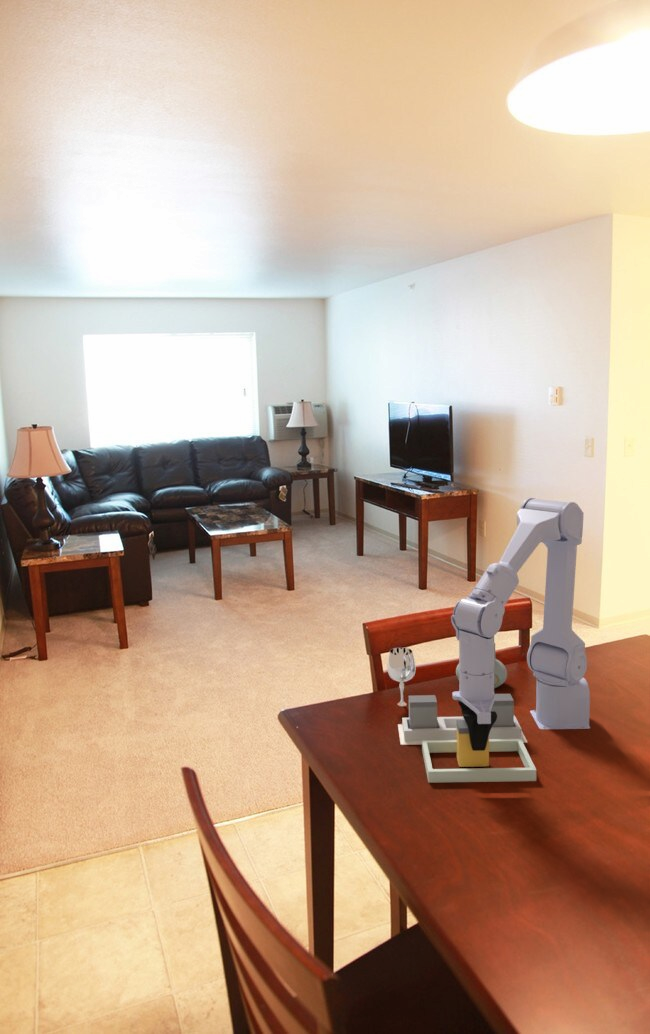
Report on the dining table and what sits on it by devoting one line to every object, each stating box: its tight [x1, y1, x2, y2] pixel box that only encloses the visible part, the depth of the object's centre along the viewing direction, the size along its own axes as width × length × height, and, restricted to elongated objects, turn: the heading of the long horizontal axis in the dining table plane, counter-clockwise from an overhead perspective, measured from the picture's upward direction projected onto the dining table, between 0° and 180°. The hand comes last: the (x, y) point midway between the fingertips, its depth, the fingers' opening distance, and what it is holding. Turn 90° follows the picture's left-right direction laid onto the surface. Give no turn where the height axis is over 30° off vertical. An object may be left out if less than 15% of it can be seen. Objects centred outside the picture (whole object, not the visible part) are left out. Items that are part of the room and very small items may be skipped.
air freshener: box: [455, 642, 508, 689], centre depth 155 cm, size 11×8×10 cm
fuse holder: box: [397, 715, 529, 746], centre depth 133 cm, size 23×8×3 cm, turn 88°
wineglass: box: [386, 646, 417, 707], centre depth 146 cm, size 6×6×12 cm
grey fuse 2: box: [490, 693, 515, 727], centre depth 133 cm, size 5×3×7 cm, turn 88°
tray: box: [421, 739, 537, 784], centre depth 122 cm, size 18×11×2 cm, turn 88°
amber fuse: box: [456, 720, 490, 768], centre depth 121 cm, size 5×3×7 cm, turn 88°
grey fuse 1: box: [408, 694, 438, 729], centre depth 133 cm, size 5×3×7 cm, turn 88°
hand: (476, 744), depth 121 cm, fingers open, 3 cm apart
